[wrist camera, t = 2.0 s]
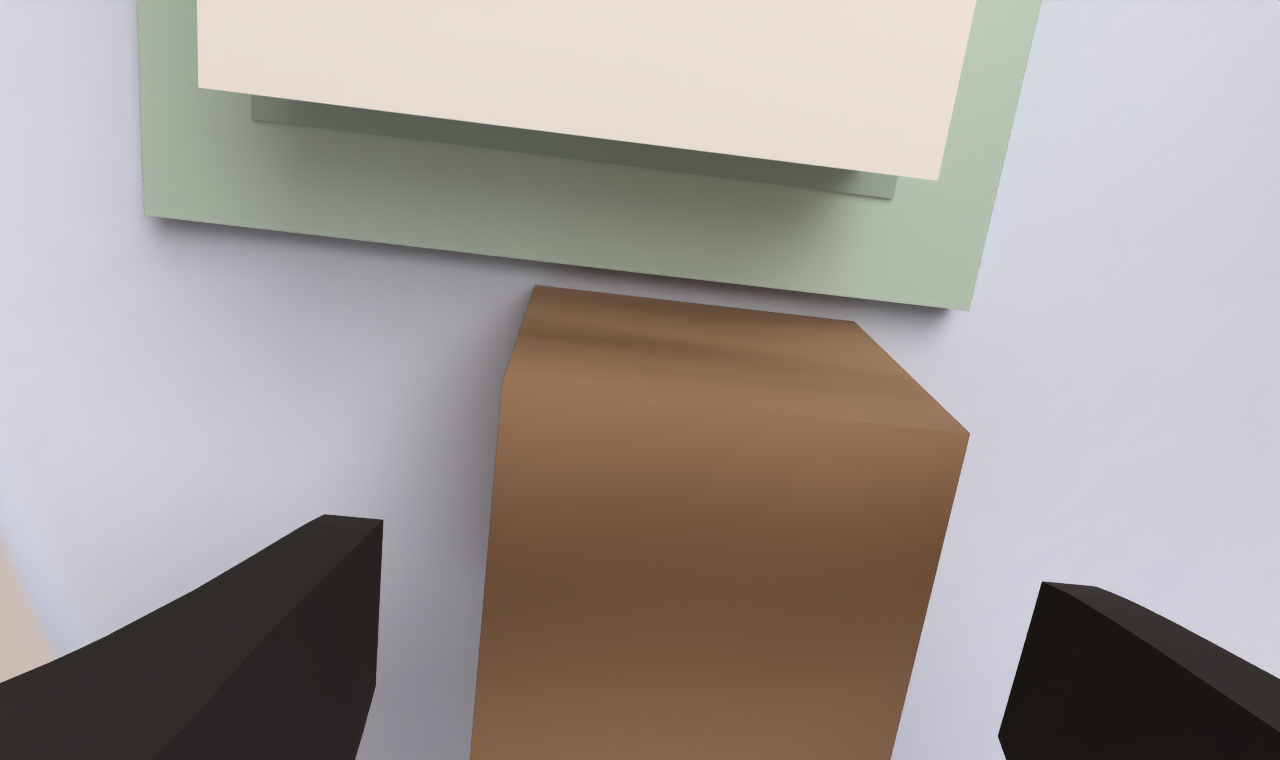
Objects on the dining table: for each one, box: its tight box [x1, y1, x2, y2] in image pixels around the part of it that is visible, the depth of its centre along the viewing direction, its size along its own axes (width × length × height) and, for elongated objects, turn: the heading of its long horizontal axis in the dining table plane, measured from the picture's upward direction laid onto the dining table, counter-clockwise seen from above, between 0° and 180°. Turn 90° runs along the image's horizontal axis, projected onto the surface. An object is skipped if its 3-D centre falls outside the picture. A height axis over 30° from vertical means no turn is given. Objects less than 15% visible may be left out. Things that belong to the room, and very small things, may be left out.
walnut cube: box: [470, 285, 970, 760], centre depth 13 cm, size 5×5×5 cm
